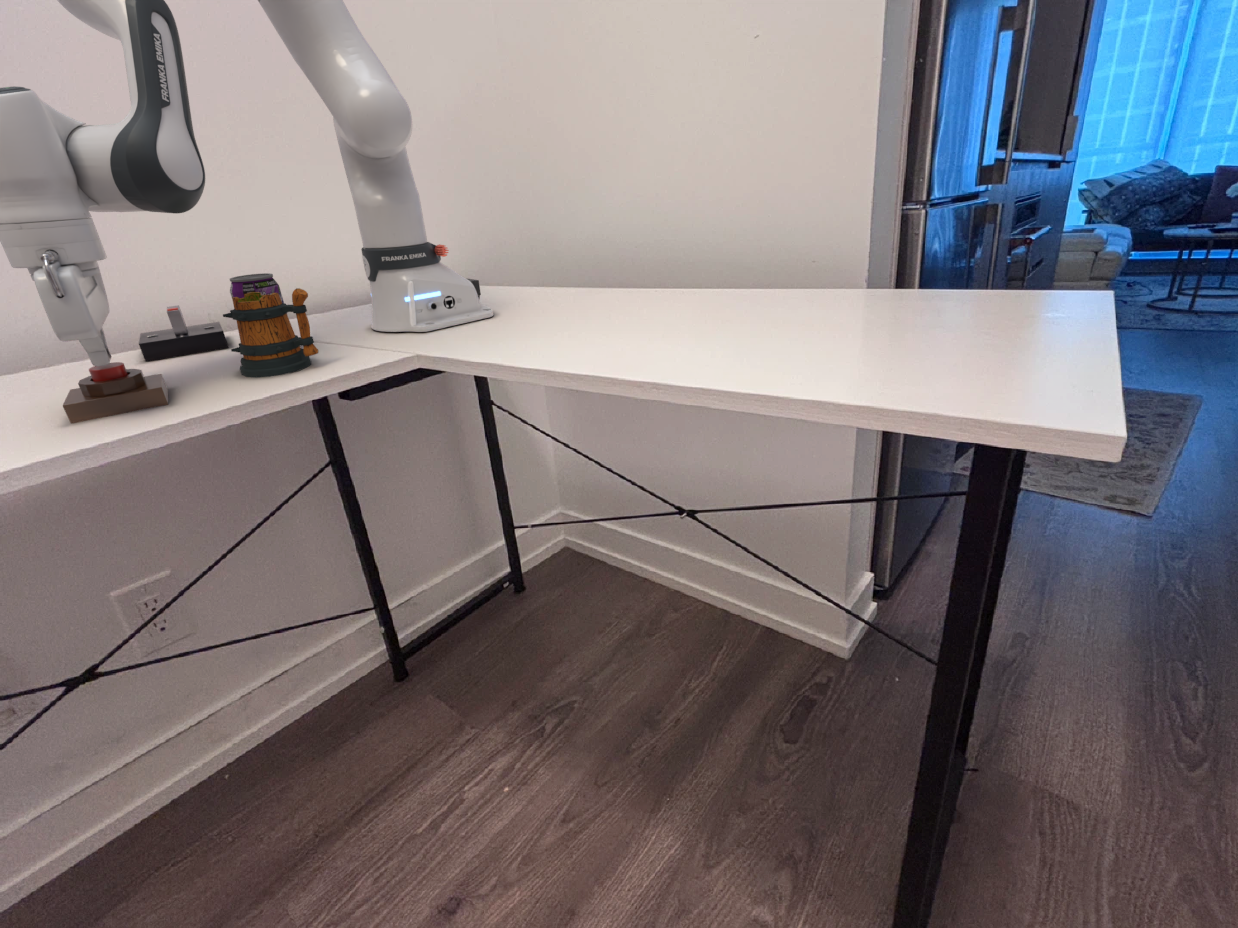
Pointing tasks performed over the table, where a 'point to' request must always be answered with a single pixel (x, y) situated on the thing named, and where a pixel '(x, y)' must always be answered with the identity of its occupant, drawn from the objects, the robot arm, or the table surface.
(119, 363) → the button
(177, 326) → the tilted grey flap
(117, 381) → the block
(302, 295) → the mug
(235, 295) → the beverage can
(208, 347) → the black flat block
